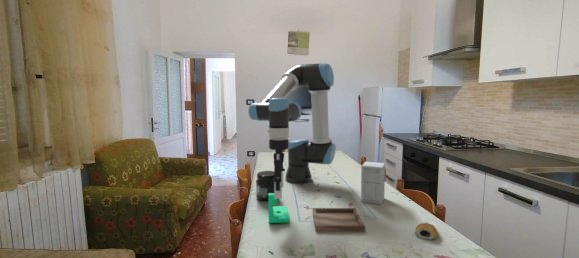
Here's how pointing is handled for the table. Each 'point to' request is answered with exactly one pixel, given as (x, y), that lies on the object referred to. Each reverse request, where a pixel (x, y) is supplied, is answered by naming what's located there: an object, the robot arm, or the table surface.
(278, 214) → the camera mount
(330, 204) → the table surface
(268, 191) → the supplement container
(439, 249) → the table surface
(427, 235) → the pastry
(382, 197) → the supplement box
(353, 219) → the tray
